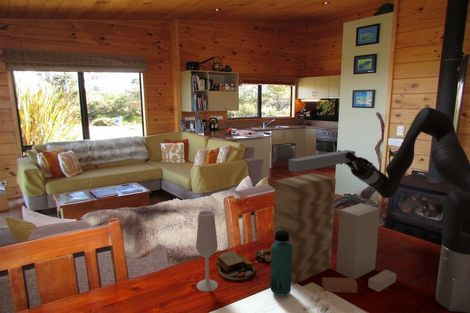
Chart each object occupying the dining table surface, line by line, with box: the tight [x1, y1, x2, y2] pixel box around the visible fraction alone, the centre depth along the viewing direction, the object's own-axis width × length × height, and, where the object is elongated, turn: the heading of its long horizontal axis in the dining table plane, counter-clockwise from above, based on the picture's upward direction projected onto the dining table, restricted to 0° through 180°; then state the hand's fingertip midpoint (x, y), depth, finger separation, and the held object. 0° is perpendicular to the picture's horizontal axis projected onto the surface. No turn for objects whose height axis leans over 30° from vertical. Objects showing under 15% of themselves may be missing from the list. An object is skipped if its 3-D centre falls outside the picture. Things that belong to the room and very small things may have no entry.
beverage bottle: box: [269, 230, 292, 296], centre depth 101 cm, size 6×7×20 cm
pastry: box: [254, 248, 271, 264], centre depth 124 cm, size 7×12×4 cm, turn 85°
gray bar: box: [288, 149, 356, 173], centre depth 115 cm, size 30×4×4 cm, turn 126°
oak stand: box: [272, 172, 337, 284], centre depth 114 cm, size 18×10×32 cm, turn 126°
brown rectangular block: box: [321, 276, 359, 293], centre depth 105 cm, size 10×4×3 cm, turn 88°
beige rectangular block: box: [367, 269, 397, 293], centre depth 108 cm, size 10×4×3 cm, turn 126°
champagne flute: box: [195, 210, 219, 292], centre depth 105 cm, size 7×7×24 cm
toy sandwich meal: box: [215, 251, 256, 282], centre depth 116 cm, size 12×14×5 cm
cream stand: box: [335, 202, 381, 280], centre depth 115 cm, size 12×7×22 cm, turn 126°
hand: (342, 153), depth 121 cm, fingers closed on gray bar, 3 cm apart
